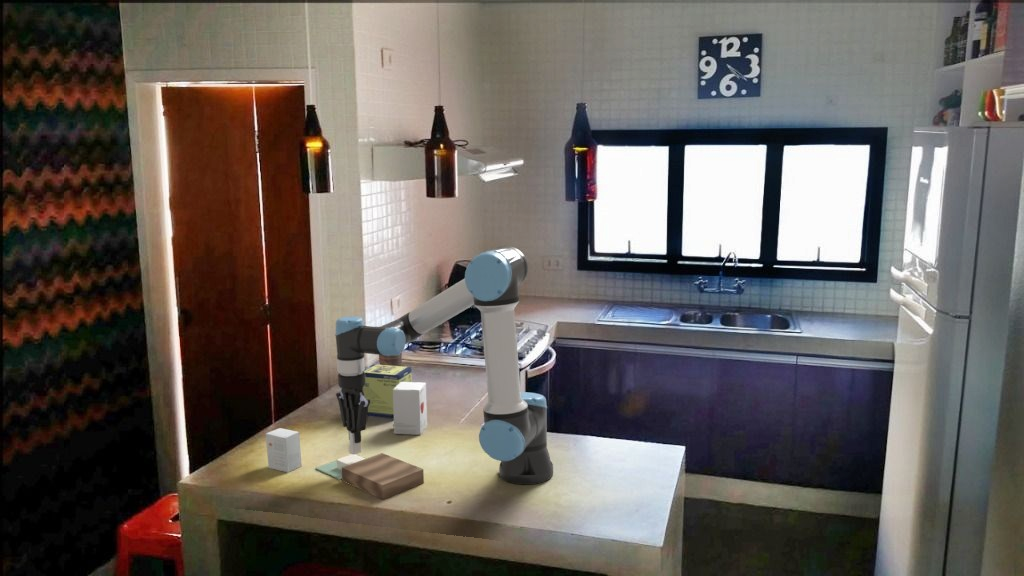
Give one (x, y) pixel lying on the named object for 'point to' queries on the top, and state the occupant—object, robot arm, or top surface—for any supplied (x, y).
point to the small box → (283, 449)
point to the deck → (382, 475)
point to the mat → (332, 469)
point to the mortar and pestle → (390, 360)
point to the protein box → (383, 387)
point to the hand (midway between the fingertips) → (355, 452)
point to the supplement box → (410, 408)
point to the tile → (348, 460)
